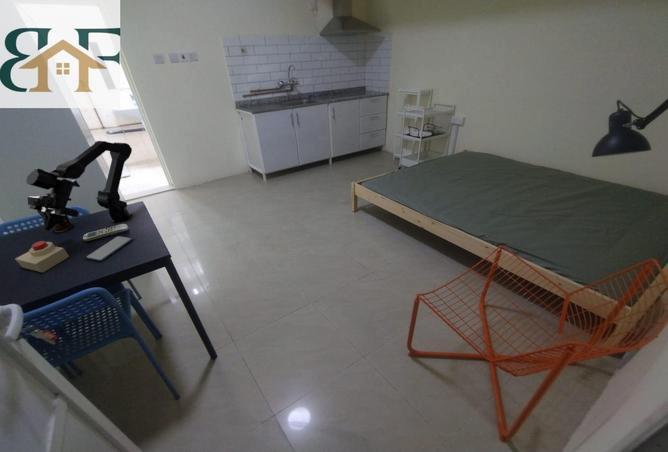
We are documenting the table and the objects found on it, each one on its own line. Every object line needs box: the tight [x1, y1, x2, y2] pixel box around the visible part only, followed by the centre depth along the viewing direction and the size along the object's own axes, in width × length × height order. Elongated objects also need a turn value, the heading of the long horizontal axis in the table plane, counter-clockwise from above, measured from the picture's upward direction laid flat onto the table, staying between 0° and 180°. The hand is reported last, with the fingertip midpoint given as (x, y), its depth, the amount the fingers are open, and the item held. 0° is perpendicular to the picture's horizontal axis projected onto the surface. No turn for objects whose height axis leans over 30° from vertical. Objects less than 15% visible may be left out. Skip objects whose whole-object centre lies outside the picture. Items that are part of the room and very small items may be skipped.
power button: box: [31, 240, 48, 251], centre depth 110 cm, size 4×4×2 cm
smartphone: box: [86, 235, 133, 262], centre depth 118 cm, size 8×1×15 cm
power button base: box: [14, 241, 70, 274], centre depth 111 cm, size 10×12×6 cm
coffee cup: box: [36, 210, 73, 233], centre depth 131 cm, size 9×8×13 cm
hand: (46, 230), depth 112 cm, fingers closed
